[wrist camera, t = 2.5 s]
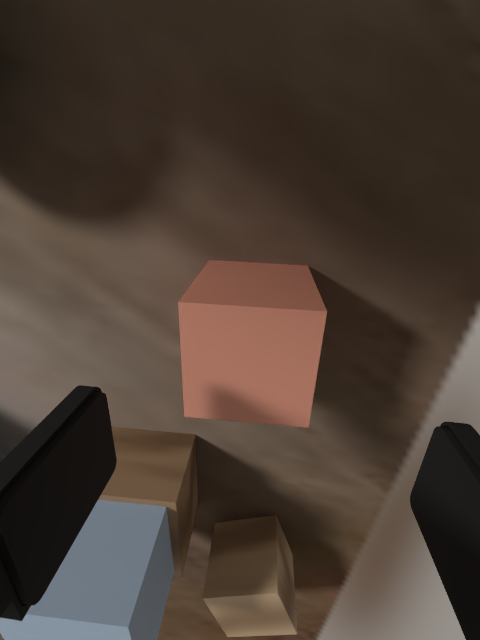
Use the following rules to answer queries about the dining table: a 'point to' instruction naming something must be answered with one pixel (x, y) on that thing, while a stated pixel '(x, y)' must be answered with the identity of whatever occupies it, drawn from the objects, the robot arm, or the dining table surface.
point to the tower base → (158, 480)
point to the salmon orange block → (251, 343)
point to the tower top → (106, 580)
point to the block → (251, 578)
